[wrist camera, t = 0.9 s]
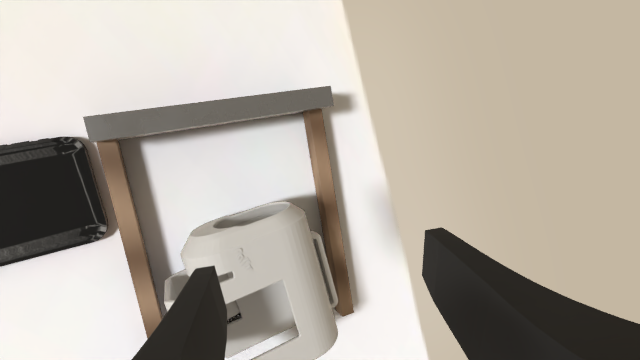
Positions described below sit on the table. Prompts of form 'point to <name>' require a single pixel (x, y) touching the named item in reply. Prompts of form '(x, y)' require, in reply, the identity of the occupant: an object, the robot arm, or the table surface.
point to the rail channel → (203, 115)
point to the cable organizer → (266, 279)
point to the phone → (47, 199)
